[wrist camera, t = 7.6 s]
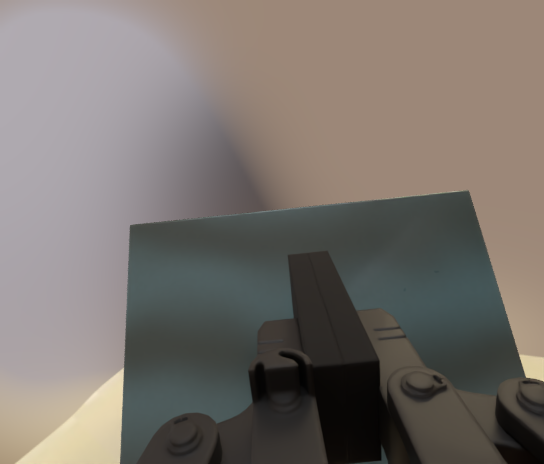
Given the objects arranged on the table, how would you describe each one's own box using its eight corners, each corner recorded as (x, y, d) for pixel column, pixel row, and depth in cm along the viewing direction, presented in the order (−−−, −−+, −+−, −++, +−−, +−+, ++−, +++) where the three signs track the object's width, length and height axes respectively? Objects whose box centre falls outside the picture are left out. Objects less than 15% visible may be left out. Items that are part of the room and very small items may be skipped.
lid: (135, 230, 19) (129, 224, 19) (462, 196, 19) (469, 189, 18) (122, 586, 14) (113, 598, 14) (565, 545, 14) (581, 555, 13)
